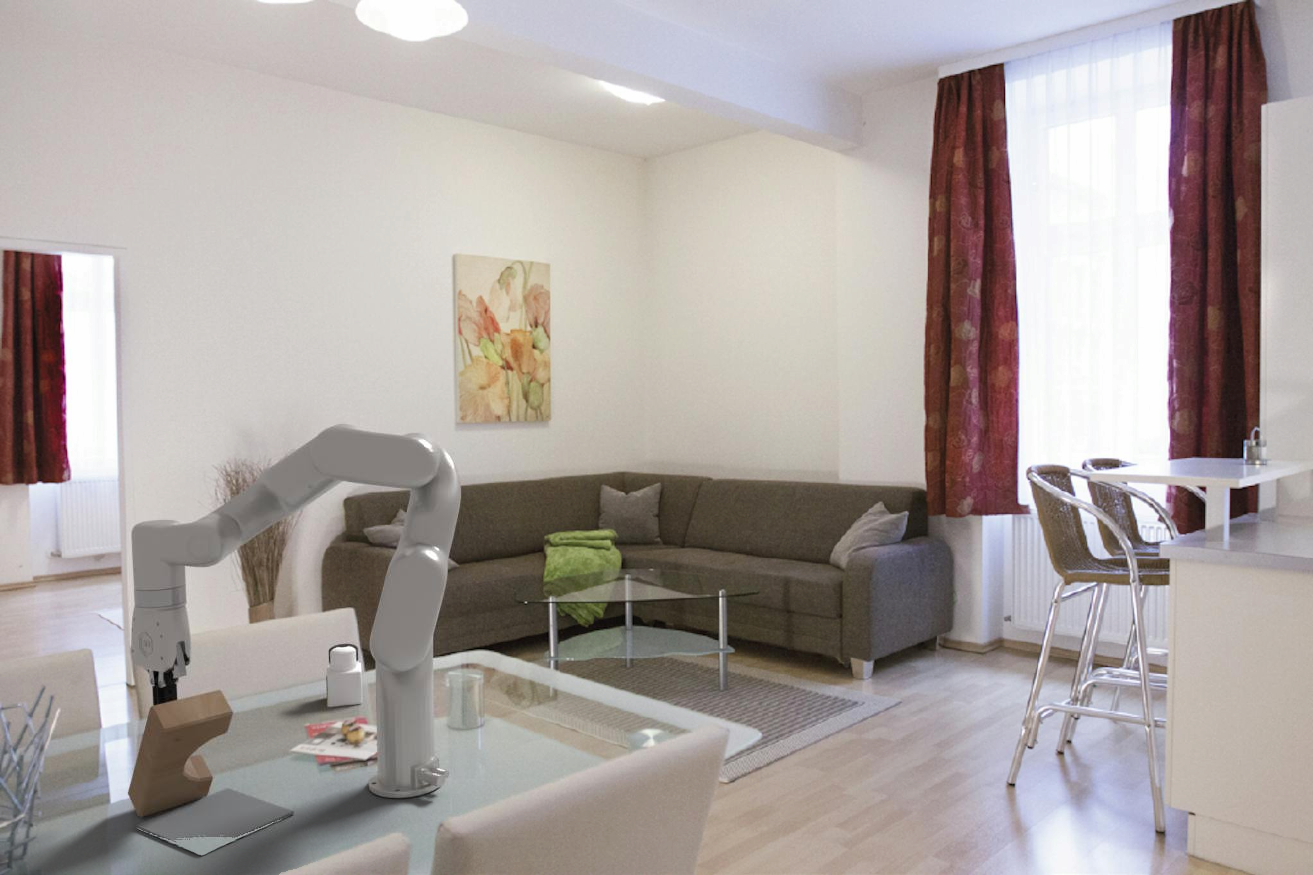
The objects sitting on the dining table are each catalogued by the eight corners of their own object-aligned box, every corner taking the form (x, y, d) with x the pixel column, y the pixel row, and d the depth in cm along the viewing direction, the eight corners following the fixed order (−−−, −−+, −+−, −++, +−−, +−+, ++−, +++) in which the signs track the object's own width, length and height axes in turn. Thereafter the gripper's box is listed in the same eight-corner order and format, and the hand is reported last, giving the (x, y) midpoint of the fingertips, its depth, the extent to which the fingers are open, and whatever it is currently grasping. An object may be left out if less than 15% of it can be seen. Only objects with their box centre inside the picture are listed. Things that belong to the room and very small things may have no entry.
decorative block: (196, 772, 168) (221, 687, 160) (208, 798, 165) (235, 713, 157) (126, 792, 160) (149, 704, 152) (138, 819, 157) (162, 731, 149)
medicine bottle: (327, 697, 216) (326, 643, 215) (361, 693, 218) (360, 640, 217) (327, 707, 209) (325, 651, 208) (362, 704, 211) (360, 648, 210)
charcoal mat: (293, 814, 158) (293, 811, 158) (201, 856, 145) (201, 852, 145) (228, 791, 167) (227, 788, 167) (135, 828, 154) (135, 824, 154)
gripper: (112, 596, 161) (117, 707, 163) (165, 607, 153) (170, 723, 154) (156, 587, 168) (161, 694, 169) (209, 597, 160) (214, 709, 161)
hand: (165, 708), depth 162 cm, fingers closed
